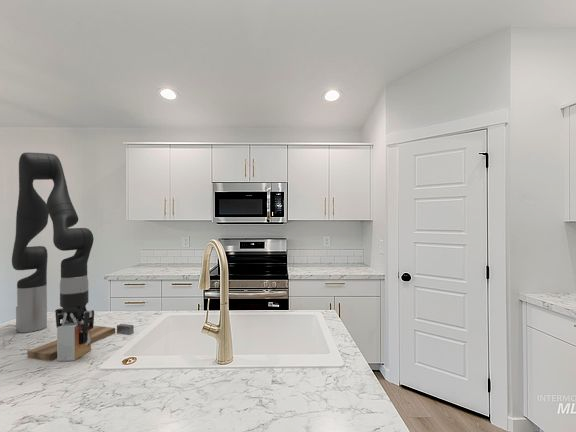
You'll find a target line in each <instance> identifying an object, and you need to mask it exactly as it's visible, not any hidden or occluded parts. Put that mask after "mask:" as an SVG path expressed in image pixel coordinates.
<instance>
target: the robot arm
mask: <svg viewBox="0 0 576 432" xmlns="http://www.w3.org/2000/svg"><path fill="white" fill-rule="evenodd" d="M36 180H37V181H38V180H39V181H40V180H52V181H53V186H52V187H53V188H52V189H51V191H50V193H49V195H48V197H47V200H46V201H45V200H44V199H43V198H42V196H40V195H39V193H38V192H37V191H36V188H34V181H36ZM68 189H69V188H68V183H67V180H66V176H65V172H64V169H63V164H62V162H61V160H60V158H59V156H58V155H56V154H55V153H46V152H45V153H44V152H23V153H21V155H20V156H19V160H18V198H17V199H18V201H17V208H16V217H15V235H14V236H15V237H14V244H13V249H12V255H11V265H12V268H13V270H15V271H29V270H36V271H35V272H33V273H32V274H30V275H27V276H25V277H23V278H20V279H19V280H17V282H16V283H17V284H16V297H17V299H16V304H17V306H15V330H16V332H17V333H23V334H24V333H31V332H36V331H40V330H43V329H45V328H47V327H48V305H47V304H48V290H47V289H48V288H47V287H48V285H47V283H48V280H47V279H48V278H47V277H48V276H47V275H48V272H47V270H48V249H47V247H45V246H44V245H36V246H28V245H29V243H30V242H31V241H32V240H33V239H34V238H36V237H37V236H38V235H39V234H40V233H41V232H42V231H43V230H44V229H45V228H46V227H47V225H48V223H49V218H50V219H51V222H52V229H53V230H52V231H53V234H52V235H53V236H52V238H53V239H52V241H53V245H54V247H55V248H56V249H58V251H59V250H60V251H63V252H65V251H67V252H68V251H75V253H74V254H73V255H72V256H70V257H66V258H64V259H62V260H61V261H60V281H59V307H60V308H57V309H55V311H54V312H55V313H54V314H55V324H56V325H55V327H56V328H57V327H59V326H62V325H64V324H66V323H70V322H72V323H74V324H75V325H77V326H79V332H80V333H79V344H81V345H82V344H84V343H86V342H87V340H88V337H87V336H88V330H90V329H93V326H95V325H94V322H95V310H92V309H91V310H87V304H89V279H88V262H89V257H90V254H91V251H92V248H93V244H94V240H95V239H94V234H93V232H92V231H91V230H90V229H89V228H87V227H74V226H75V225H77V223H78V222H79V215H78V213H77V211H76V209H75V207H74V205H73V202H72V200H71V197H70V195H69V190H68ZM82 320H83V322H80V321H82ZM88 323H89V326H88ZM82 325H83V326H84V328H82Z"/></svg>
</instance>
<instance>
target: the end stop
mask: <svg viewBox="0 0 576 432" xmlns="http://www.w3.org/2000/svg"><path fill="white" fill-rule="evenodd" d="M134 328H135V327H134V325H133V324H127V323H119V324H117V325H116V334H117V335H118V334H119V335H126V336H130V335H132V334H134Z"/></svg>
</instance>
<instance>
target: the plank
mask: <svg viewBox="0 0 576 432" xmlns="http://www.w3.org/2000/svg"><path fill="white" fill-rule="evenodd" d="M114 334H116V327H111V326H110V327H109V326H104V325H103V326H100V325H93V329H91V344H93V343H94V344H95V342H98V341H102V339H105V338H107V337H110V336H112V335H114ZM26 354H27V356H26V357H27V358H29V359H35V360H42V361H46V362H47V361H48V362H52V361H54V360H56V359H57V339H55V340H53V341H50V342H47V343H44V344H42V345H40V346H37V347H35V348H32V349H30V350H27V353H26Z"/></svg>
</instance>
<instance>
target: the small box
mask: <svg viewBox="0 0 576 432" xmlns="http://www.w3.org/2000/svg"><path fill="white" fill-rule="evenodd" d="M80 322H83V320H82V321H80ZM88 326H89V323H88ZM82 328H84V326H83V325H82ZM79 333H80V332H79V326H77V325H75V324H74V323H72V322H70V323H66V324H64V325H62V326H59V327H56V340H57V358H56V359H57V360H56V361H57V362H64V361H66V362H67V361H69V362H73V361H77V359H79V358H81V357H82V356H83V355H86V354H88V353H89V352H91V351H92V343H91V329H90V330H88V336H87V337H88V340H87V342H86V343H84V344H82V345H81V344H79Z"/></svg>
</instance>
